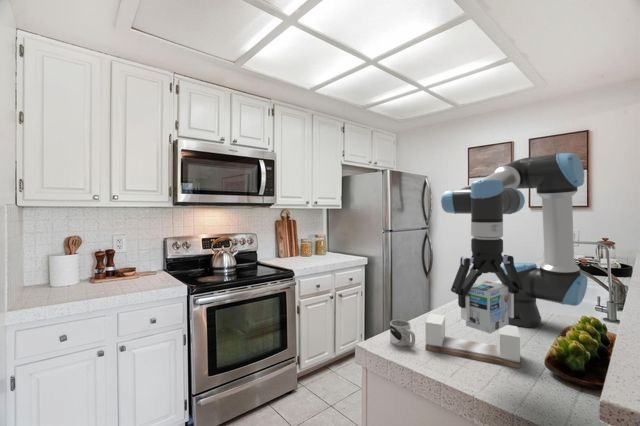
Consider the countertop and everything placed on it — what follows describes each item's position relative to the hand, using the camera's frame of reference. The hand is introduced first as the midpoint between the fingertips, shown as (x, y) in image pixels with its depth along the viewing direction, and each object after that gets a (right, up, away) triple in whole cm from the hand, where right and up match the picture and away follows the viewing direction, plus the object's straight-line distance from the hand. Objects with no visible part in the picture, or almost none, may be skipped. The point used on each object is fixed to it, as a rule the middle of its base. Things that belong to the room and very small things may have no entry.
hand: (487, 317), depth 83 cm
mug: (-17, -16, +21) cm, 32 cm away
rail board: (+3, -16, +16) cm, 23 cm away
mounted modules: (+3, -14, +16) cm, 21 cm away
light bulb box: (0, -2, 0) cm, 2 cm away
